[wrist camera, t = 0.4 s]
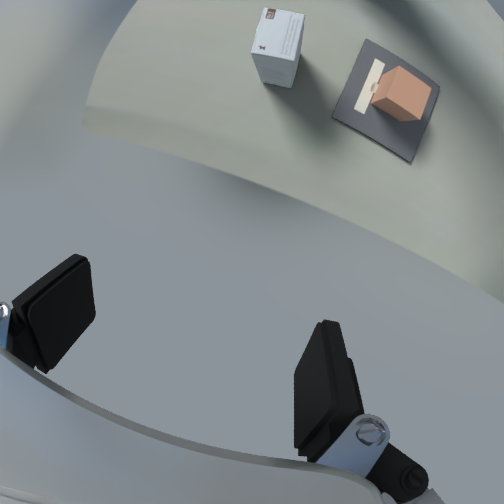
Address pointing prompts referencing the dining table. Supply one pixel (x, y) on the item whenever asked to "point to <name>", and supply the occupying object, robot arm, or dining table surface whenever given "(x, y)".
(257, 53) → the skincare box
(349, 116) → the letter mat
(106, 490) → the robot arm
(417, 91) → the block
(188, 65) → the dining table surface
